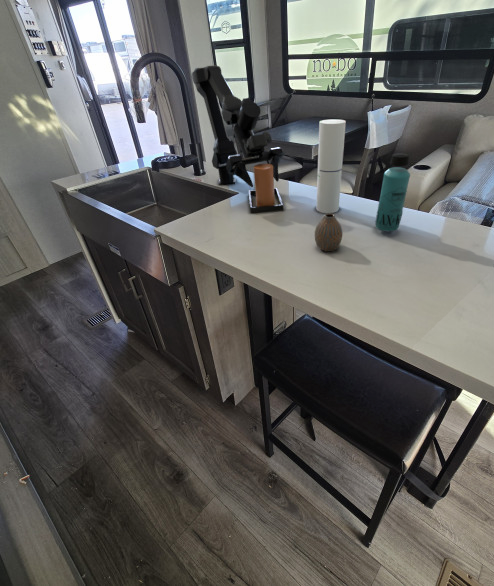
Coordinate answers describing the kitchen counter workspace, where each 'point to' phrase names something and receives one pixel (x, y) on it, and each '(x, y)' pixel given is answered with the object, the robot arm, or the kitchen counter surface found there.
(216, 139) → the robot arm
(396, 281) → the kitchen counter surface
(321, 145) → the cylindrical container
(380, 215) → the beverage bottle
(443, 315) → the kitchen counter surface
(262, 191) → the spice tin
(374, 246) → the kitchen counter surface
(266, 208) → the black rectangular frame
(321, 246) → the vase
